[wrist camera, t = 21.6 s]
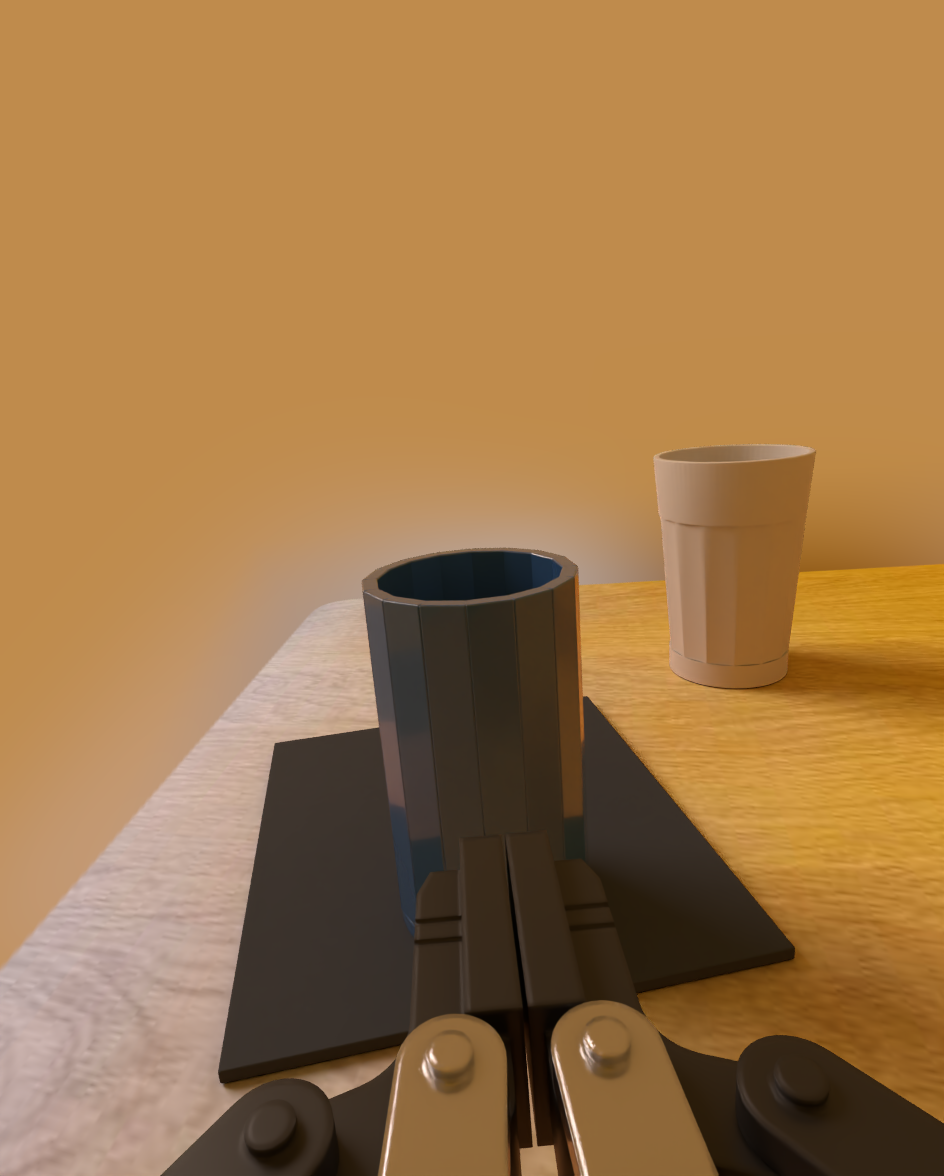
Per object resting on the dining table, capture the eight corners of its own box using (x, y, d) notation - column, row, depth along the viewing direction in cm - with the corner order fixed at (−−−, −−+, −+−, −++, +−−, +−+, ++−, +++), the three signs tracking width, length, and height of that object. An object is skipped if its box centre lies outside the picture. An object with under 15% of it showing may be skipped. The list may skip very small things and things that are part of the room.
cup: (625, 664, 42) (622, 458, 39) (714, 631, 46) (718, 442, 43) (742, 709, 36) (749, 466, 33) (834, 665, 40) (848, 446, 37)
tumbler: (410, 987, 20) (365, 617, 17) (395, 855, 26) (359, 560, 23) (617, 946, 21) (608, 587, 18) (557, 827, 27) (543, 540, 24)
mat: (220, 1084, 18) (217, 1072, 18) (275, 750, 35) (274, 742, 35) (795, 959, 21) (795, 947, 21) (587, 702, 38) (587, 695, 38)
